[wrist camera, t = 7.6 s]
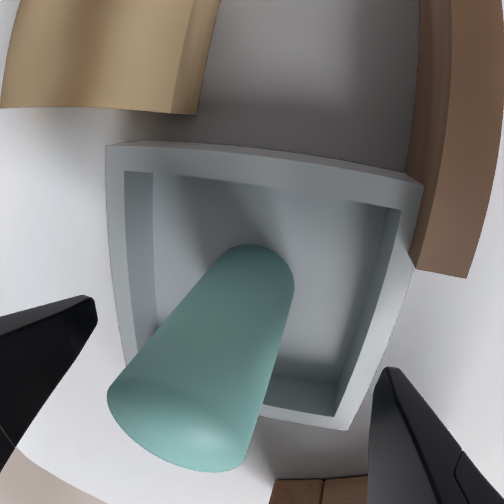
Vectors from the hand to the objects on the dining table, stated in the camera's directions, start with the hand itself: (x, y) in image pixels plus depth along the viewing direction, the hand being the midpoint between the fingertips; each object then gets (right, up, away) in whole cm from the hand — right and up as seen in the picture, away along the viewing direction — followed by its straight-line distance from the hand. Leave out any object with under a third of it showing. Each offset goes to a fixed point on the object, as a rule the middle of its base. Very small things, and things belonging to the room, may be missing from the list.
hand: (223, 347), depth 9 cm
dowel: (+1, +1, +3) cm, 4 cm away
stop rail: (+7, +9, -1) cm, 11 cm away
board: (-5, +12, +2) cm, 13 cm away
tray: (+1, +2, +4) cm, 4 cm away
